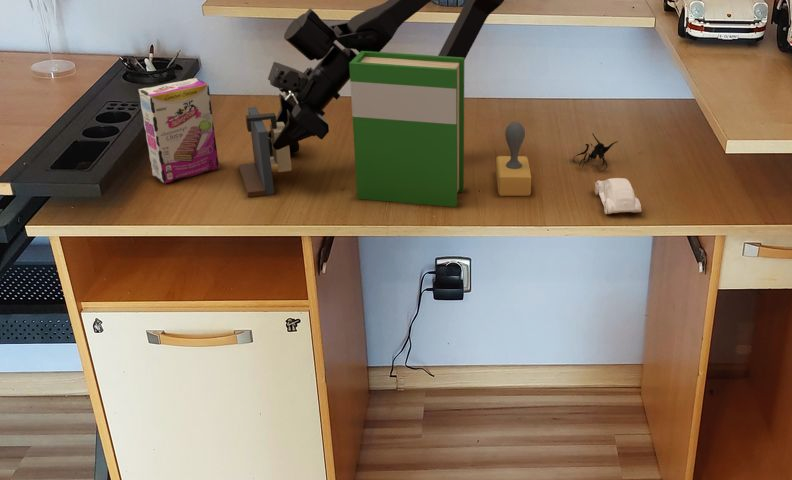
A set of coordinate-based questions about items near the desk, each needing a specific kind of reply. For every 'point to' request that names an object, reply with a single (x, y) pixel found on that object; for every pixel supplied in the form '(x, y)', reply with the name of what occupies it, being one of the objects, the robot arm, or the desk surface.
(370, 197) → the hardback book
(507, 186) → the rubber stamp
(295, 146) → the tape measure
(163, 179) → the candy bar box
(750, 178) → the desk surface
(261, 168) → the door
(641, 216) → the desk surface
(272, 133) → the hanger
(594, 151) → the creature
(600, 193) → the white toy vehicle
